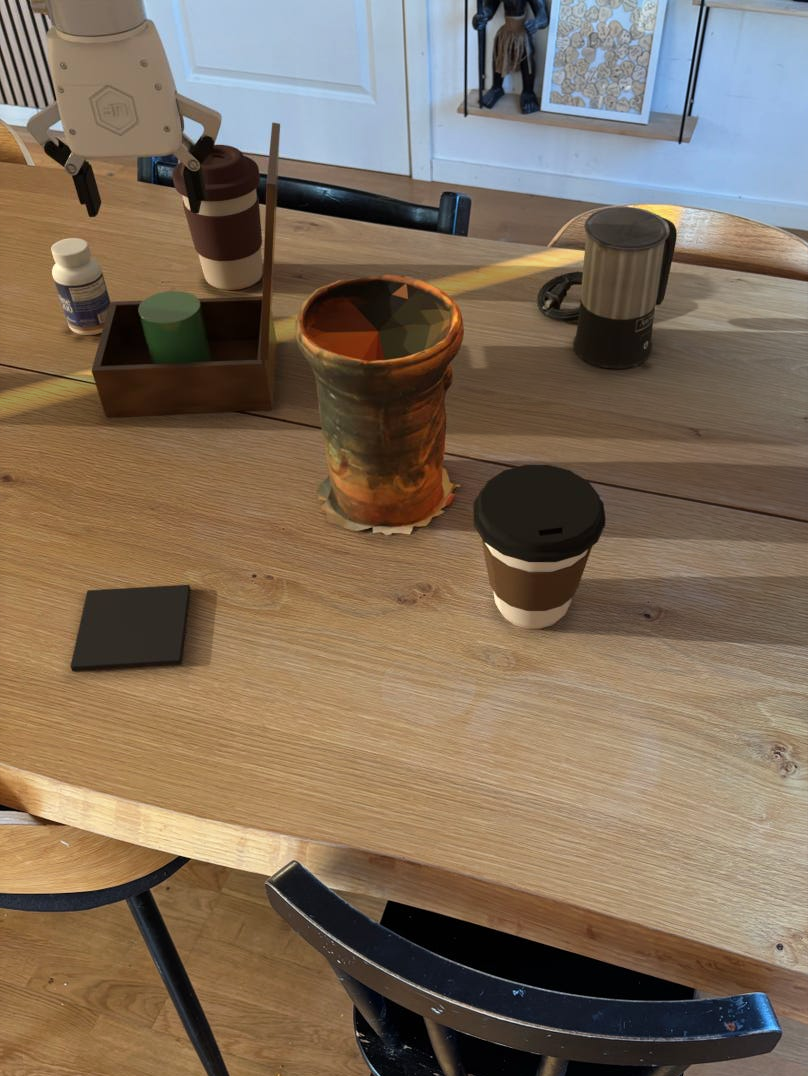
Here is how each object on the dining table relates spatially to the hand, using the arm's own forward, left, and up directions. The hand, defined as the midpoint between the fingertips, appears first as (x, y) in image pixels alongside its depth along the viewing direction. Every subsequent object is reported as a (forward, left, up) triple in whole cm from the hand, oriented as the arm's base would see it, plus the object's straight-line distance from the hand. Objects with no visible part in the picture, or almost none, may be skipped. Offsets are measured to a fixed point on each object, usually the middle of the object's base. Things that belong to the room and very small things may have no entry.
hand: (146, 208), depth 98 cm
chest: (+1, +1, -20) cm, 20 cm away
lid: (+11, +1, -4) cm, 12 cm away
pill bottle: (-12, +13, -20) cm, 27 cm away
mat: (-1, -37, -20) cm, 42 cm away
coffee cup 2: (+34, -37, -20) cm, 54 cm away
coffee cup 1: (+4, +23, -20) cm, 31 cm away
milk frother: (+47, +7, -20) cm, 51 cm away
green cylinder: (0, +1, -19) cm, 19 cm away
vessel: (+22, -21, -20) cm, 36 cm away
